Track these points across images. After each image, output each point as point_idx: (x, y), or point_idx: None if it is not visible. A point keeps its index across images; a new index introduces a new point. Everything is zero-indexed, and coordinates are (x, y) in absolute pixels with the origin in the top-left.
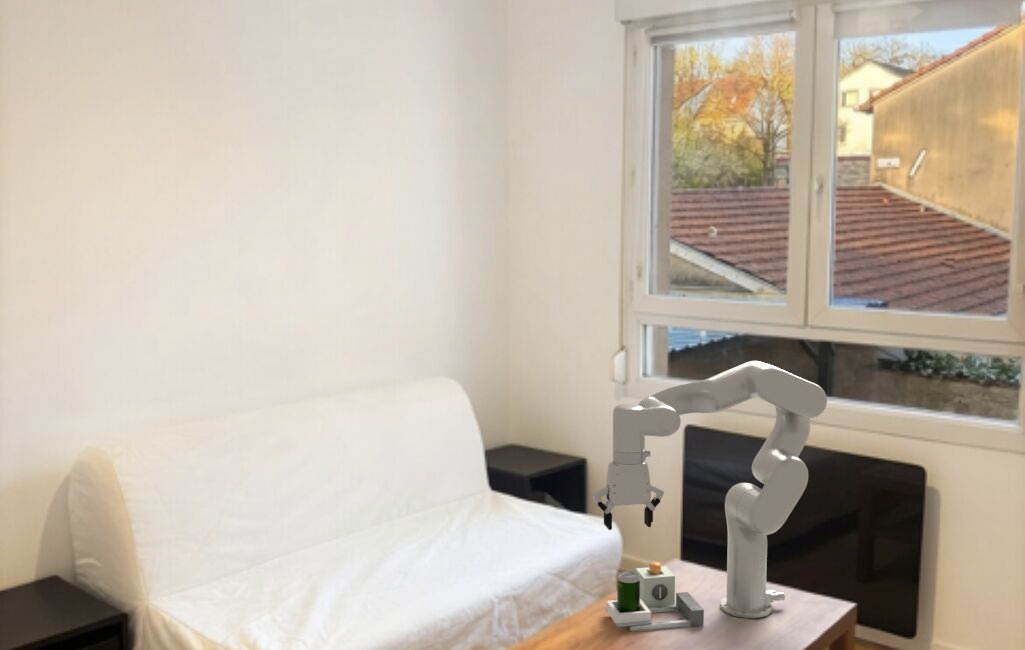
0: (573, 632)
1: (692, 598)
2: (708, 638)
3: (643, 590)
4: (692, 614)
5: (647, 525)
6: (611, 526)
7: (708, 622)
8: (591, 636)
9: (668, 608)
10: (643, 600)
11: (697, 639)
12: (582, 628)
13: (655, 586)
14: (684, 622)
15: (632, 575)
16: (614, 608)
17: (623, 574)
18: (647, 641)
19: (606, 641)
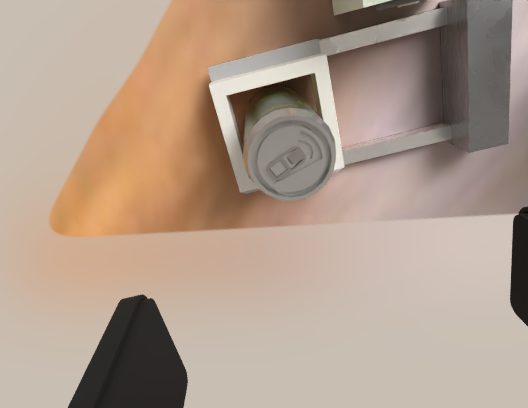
0: (128, 187)
1: (507, 50)
2: (464, 201)
3: (347, 3)
4: (465, 149)
5: (516, 299)
6: (179, 401)
7: None
8: (177, 206)
9: (411, 33)
10: (339, 6)
11: (436, 208)
12: (149, 162)
13: (399, 3)
14: (431, 143)
15: (307, 168)
16: (234, 146)
17: (269, 158)
18: (314, 224)
19: (215, 229)
